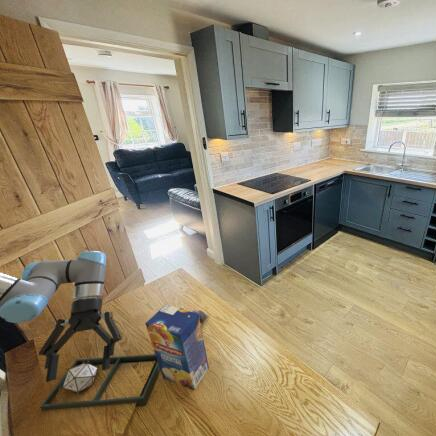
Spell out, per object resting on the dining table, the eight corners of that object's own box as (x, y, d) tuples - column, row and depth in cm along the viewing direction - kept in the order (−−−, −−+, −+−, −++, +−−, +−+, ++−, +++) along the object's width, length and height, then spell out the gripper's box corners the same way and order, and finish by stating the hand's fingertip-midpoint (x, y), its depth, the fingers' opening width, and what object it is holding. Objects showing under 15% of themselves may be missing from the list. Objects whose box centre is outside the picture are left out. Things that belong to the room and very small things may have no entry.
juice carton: (209, 367, 79) (198, 314, 69) (194, 390, 72) (180, 334, 62) (179, 357, 82) (165, 304, 72) (162, 378, 75) (144, 323, 66)
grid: (45, 414, 66) (39, 407, 64) (80, 366, 78) (76, 359, 77) (145, 405, 68) (143, 398, 67) (164, 360, 81) (162, 353, 79)
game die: (91, 397, 73) (77, 401, 64) (62, 390, 72) (44, 393, 63) (110, 364, 78) (99, 364, 70) (84, 356, 77) (69, 355, 69)
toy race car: (178, 310, 101) (175, 298, 98) (207, 321, 96) (205, 308, 94) (159, 327, 93) (156, 315, 90) (190, 340, 88) (187, 327, 85)
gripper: (136, 293, 83) (132, 362, 76) (49, 306, 77) (36, 382, 70) (126, 292, 76) (121, 367, 69) (30, 305, 70) (14, 389, 63)
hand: (78, 375), depth 69 cm, fingers open, 13 cm apart
